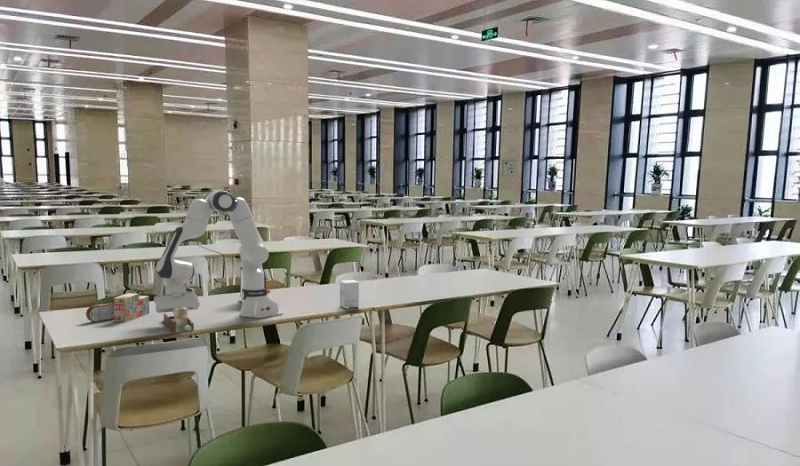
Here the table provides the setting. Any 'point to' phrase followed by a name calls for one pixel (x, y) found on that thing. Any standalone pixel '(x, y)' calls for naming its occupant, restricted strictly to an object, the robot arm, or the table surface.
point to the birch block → (180, 316)
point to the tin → (100, 312)
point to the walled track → (170, 322)
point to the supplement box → (349, 293)
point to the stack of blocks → (130, 307)
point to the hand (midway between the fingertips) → (179, 317)
